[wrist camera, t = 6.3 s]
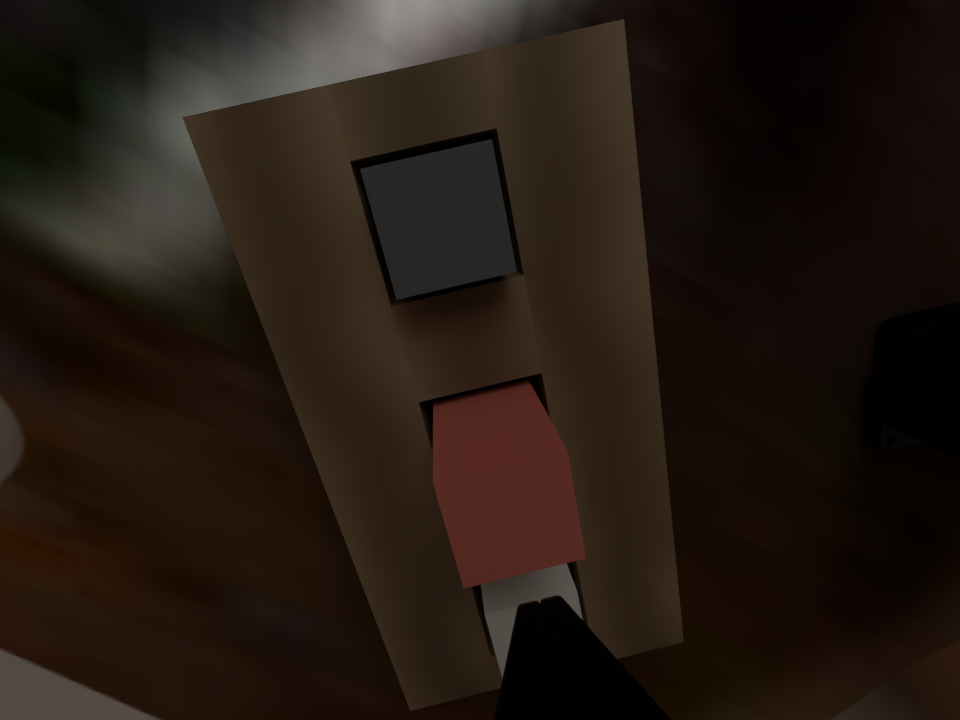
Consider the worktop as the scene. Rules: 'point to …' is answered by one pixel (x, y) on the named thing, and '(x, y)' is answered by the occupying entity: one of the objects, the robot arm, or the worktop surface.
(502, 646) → the plug white
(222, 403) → the worktop surface
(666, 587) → the block
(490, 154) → the gray rectangular block
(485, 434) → the plug red
